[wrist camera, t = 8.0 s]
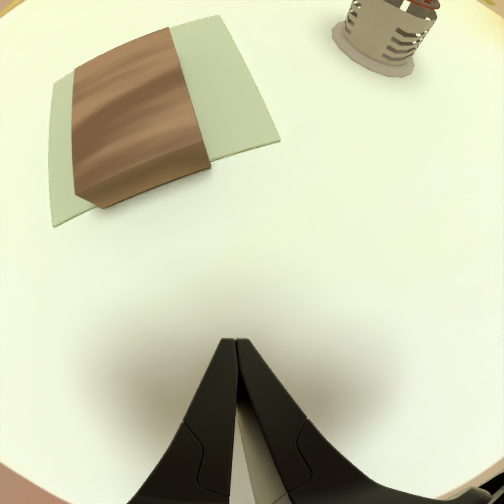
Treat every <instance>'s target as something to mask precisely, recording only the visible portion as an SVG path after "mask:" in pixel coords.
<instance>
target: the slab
mask: <svg viewBox="0 0 504 504" xmlns="http://www.w3.org/2000/svg"><path fill="white" fill-rule="evenodd" d="M71 142H72V166H73V180H74V191H75V195H76V196H78V197H80V198H82V199H84V200H86V201H88V202H90V203H92V204H94V205H96V206H98V207H100V208H105V207H108V206H110V205H112V204H114V203H117V202H119V201H121V200H124V199H126V198H128V197H131V196H133V195H136V194H138V193H141V192H143V191H146V190H148V189H151V188H153V187H156V186H158V185H161V184H164V183H166V182H169V181H172V180H174V179H177V178H180V177H182V176H185V175H188V174H191V173H194V172H197V171H200V170H203V169H206V168H209V167H211V163H210V160H209V157H208V154H207V151H206V147H205V144H204V141H203V138H202V134H201V131H200V128H199V125H198V121H197V118H196V115H195V112H194V108H193V105H192V102H191V98H190V95H189V92H188V88H187V85H186V82H185V78H184V75H183V72H182V68H181V65H180V62H179V58H178V55H177V52H176V49H175V46H174V42H173V39H172V36H171V33H170V30H169V27H167V28H164V29H161V30H158V31H155V32H153V33H150V34H147V35H145V36H142V37H140V38H137V39H135V40H132V41H130V42H127V43H125V44H123V45H121V46H118V47H116V48H114V49H112V50H110V51H108V52H106V53H104V54H102V55H100V56H98V57H96V58H94V59H92V60H90V61H88V62H86V63H84V64H83V65H81V66H79V67H77V68H76V69H75V70H74V80H73V93H72V117H71Z"/></svg>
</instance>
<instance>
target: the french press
mask: <svg viewBox="0 0 504 504" xmlns="http://www.w3.org/2000/svg"><path fill="white" fill-rule="evenodd" d="M354 1H357V2H359V3H356V4H354ZM403 1H404V0H353V1H352V4H351V7H350V9H349V12H348V14H349V15H348V14H347V18H346V21H343V22H339V23H338V24H337V25H336V26H335V27H334V28H333V29H332V31H333V39H334V41H335V42H336V44H337V46H338V47H339V49H340V50H341V51H343V52H344V53H345V54H346V55H347V56H348V57H350V58H351V59H352V60H353V61H355V62H356V63H358V64H360V65H362V66H363V67H365V68H367V69H369V70H370V71H373V72H376V73H379V74H382V75H385V76H388V77H404V76H407V75H409V74H411V73H412V70H413V68H414V63H413V59H412V55H413V54H414V52H415V51H416V49H417V48H418V46H419V44H420V43H421V42H422V41H423V39H424V37H425V36H426V34H427V33H428V32H427V33H424V31H426V30H428V31H429V29H430V28H431V27H432V26H433V24H434V22H435V21H436V19H437V15H436V12H435V11H434V9H439V8H440V3H439V1H438V0H407V1H409V2H411V3H410V5H409V7H408V9H407V10H406V12H404V11H402V10H400V9H399V8H400V6H401V5H402V3H403ZM358 6H360V7H361V8H360V9H359V8H358ZM351 10H353V11H352V12H351ZM426 17H428V18H430V19H431V20H425V19H426ZM416 33H420V34H421V36H419V37H417V36H416V35H415V34H416ZM421 38H423V39H422V40H421V41H420V39H421ZM414 41H416V42H417V43H415V44H413V43H412V42H414ZM417 45H418V46H417ZM416 46H417V48H415V47H416Z"/></svg>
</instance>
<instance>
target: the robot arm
mask: <svg viewBox="0 0 504 504" xmlns="http://www.w3.org/2000/svg"><path fill="white" fill-rule="evenodd" d="M236 413H237V418H238V424H239V429H240V434H241V439H242V444H243V448H244V453H245V458H246V463H247V467H248V472H249V476H250V481H251V485H252V489H253V494H254V498H255V502H256V504H504V469H503V470H502V471H500V472H499V473H497V474H496V475H494V476H493V477H491V478H490V479H488V480H486V481H485V482H483V483H482V484H480V485H479V486H477V487H474V486H471V487H468V488H466V489H464V490H462V491H461V492H459V493H457V494H455V495H453V496H451V497H449V498H447V499H445V500H436V499H431V498H426V497H422V496H417V495H413V494H409V493H406V492H402V491H398V490H395V489H392V488H388V487H385V486H383V485H380V484H378V483H376V482H375V481H373V480H372V479H370V478H369V477H367V476H366V475H365V474H364V473H363V472H361V471H360V470H359V469H358V468H357V467H356V466H354V465H353V464H352V463H351V462H350V461H349V460H348V459H346V458H345V457H344V456H343V455H342V454H341V453H340V452H339V451H338V450H337V449H336V448H335V447H333V446H332V445H331V444H330V443H329V442H328V441H327V440H326V439H325V437H324V436H323V435H322V434H321V433H320V432H319V431H318V429H317V428H316V427H315V426H314V425H313V423H312V422H311V421H310V419H307V416H306V415H305V413H304V412H303V411H302V410H301V408H300V407H299V406H298V404H297V403H296V402H295V401H294V399H293V398H292V397H291V395H290V394H289V393H288V392H287V390H286V389H285V388H284V386H283V385H282V384H281V382H280V381H279V380H278V378H277V377H276V376H275V374H274V373H273V372H272V370H271V369H270V368H269V366H268V365H267V363H266V362H265V361H264V359H263V358H262V357H261V355H260V354H259V352H258V351H257V350H256V348H255V347H254V346H253V344H252V343H251V341H250V340H249V339H247V338H237V339H235V340H234V339H233V338H222V339H221V340H220V342H219V344H218V346H217V349H216V351H215V353H214V355H213V357H212V359H211V361H210V363H209V366H208V368H207V370H206V372H205V374H204V376H203V378H202V380H201V382H200V385H199V387H198V389H197V391H196V393H195V395H194V397H193V399H192V401H191V404H190V406H189V408H188V410H187V412H186V414H185V416H184V418H183V420H182V421H183V422H182V423H181V424H180V426H179V428H178V430H177V432H176V434H175V436H174V438H173V440H172V442H171V444H170V445H169V447H168V449H167V450H166V452H165V453H164V455H163V457H162V458H161V460H160V461H159V463H158V464H157V465H156V467H155V468H154V470H153V471H152V472H151V474H150V475H149V476H148V478H147V479H146V481H145V482H144V483H143V485H142V486H141V487H140V489H139V490H138V491H137V493H136V494H135V495H134V496H133V497H132V499H131V500H130V501H129V502H128V503H127V504H229V500H230V499H229V497H230V485H231V471H232V457H233V443H234V429H235V416H236ZM306 419H307V420H306Z"/></svg>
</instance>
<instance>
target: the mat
mask: <svg viewBox="0 0 504 504" xmlns="http://www.w3.org/2000/svg"><path fill="white" fill-rule="evenodd" d="M169 30H170V33H171V36H172V39H173V42H174V46H175V49H176V52H177V55H178V58H179V62H180V65H181V68H182V72H183V75H184V78H185V82H186V85H187V88H188V92H189V95H190V98H191V102H192V105H193V108H194V112H195V115H196V118H197V121H198V125H199V128H200V131H201V134H202V138H203V141H204V144H205V147H206V151H207V154H208V157H209V160H210V162H211V161H214V160H217V159H220V158H223V157H226V156H229V155H233V154H236V153H239V152H243V151H246V150H250V149H253V148H257V147H260V146H264V145H268V144H271V143H275V142H279V141H281V139H280V136H279V134H278V132H277V130H276V127H275V125H274V123H273V120H272V118H271V116H270V114H269V112H268V109H267V107H266V105H265V103H264V101H263V99H262V96H261V94H260V92H259V90H258V88H257V86H256V84H255V82H254V80H253V78H252V76H251V74H250V72H249V70H248V68H247V66H246V64H245V62H244V60H243V58H242V56H241V54H240V52H239V50H238V48H237V46H236V44H235V42H234V40H233V39H232V37H231V35H230V33H229V31H228V29H227V28H226V26H225V24H224V22H223V20H222V19H221V17H220V15H216V16H212V17H207V18H203V19H199V20H195V21H192V22H188V23H185V24H181V25H178V26H175V27H172V28H169ZM73 80H74V71H73V72H71V73H70V74H68V75H66V76H65V77H63V78H62V79H60V80H58V81H57V82H55V83H54V87H53V94H52V103H51V113H50V126H49V154H48V165H49V193H50V207H51V217H52V226H53V227H56V226H58V225H60V224H62V223H64V222H66V221H68V220H70V219H72V218H74V217H76V216H78V215H80V214H82V213H84V212H86V211H88V210H90V209H92V208H94V207H96V205H94V204H92V203H90V202H88V201H86V200H84V199H82V198H80V197H78V196H76V195H75V191H74V180H73V166H72V142H71V117H72V93H73Z"/></svg>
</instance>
